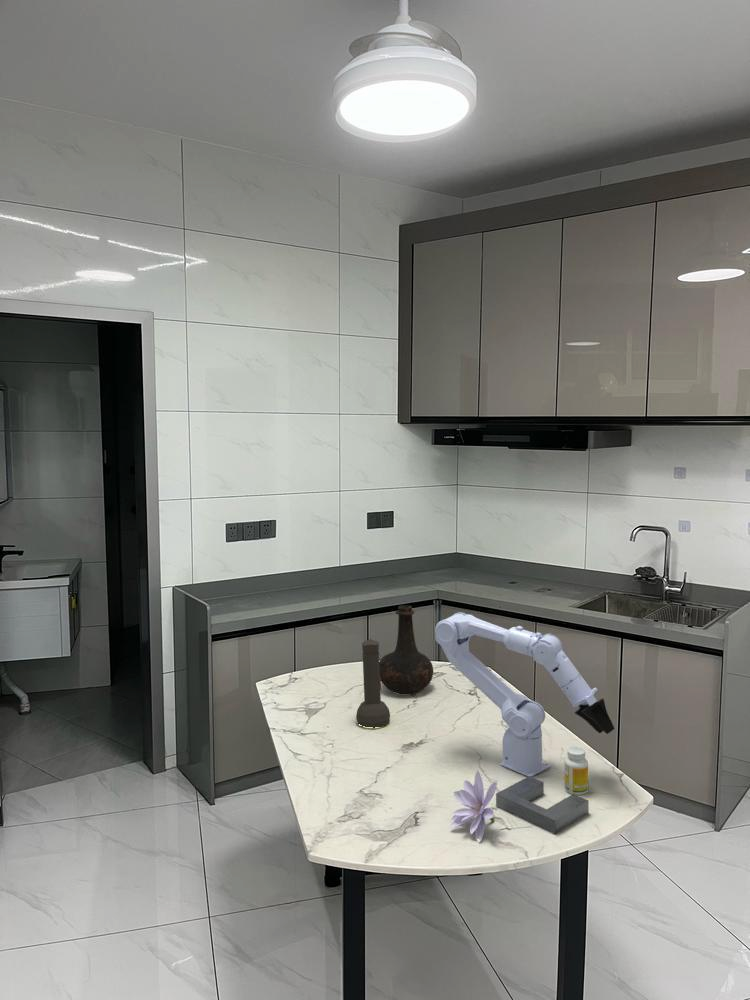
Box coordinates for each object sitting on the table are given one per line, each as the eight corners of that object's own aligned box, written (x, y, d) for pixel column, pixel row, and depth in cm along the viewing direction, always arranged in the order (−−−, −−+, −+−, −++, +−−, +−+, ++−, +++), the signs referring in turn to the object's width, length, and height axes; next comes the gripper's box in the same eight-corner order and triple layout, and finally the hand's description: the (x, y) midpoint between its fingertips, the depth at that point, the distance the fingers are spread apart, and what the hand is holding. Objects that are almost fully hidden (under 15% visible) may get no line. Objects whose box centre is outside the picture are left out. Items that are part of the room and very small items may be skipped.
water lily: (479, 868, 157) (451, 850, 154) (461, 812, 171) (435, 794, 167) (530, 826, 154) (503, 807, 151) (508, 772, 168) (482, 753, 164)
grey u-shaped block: (496, 806, 169) (496, 793, 168) (529, 788, 176) (529, 776, 176) (555, 834, 156) (555, 820, 156) (588, 813, 164) (588, 800, 164)
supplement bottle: (560, 790, 175) (559, 751, 174) (571, 782, 178) (571, 743, 177) (581, 798, 171) (581, 757, 170) (592, 789, 175) (592, 749, 174)
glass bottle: (376, 682, 252) (373, 601, 249) (428, 678, 254) (426, 597, 251) (382, 702, 234) (379, 614, 232) (438, 697, 236) (436, 610, 233)
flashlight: (357, 730, 213) (391, 728, 214) (353, 645, 211) (388, 643, 211) (355, 717, 223) (388, 715, 223) (352, 635, 220) (386, 633, 221)
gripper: (590, 669, 172) (628, 721, 168) (577, 673, 185) (613, 721, 182) (565, 687, 171) (603, 739, 167) (555, 689, 185) (589, 738, 181)
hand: (606, 731), depth 174 cm, fingers open, 7 cm apart
